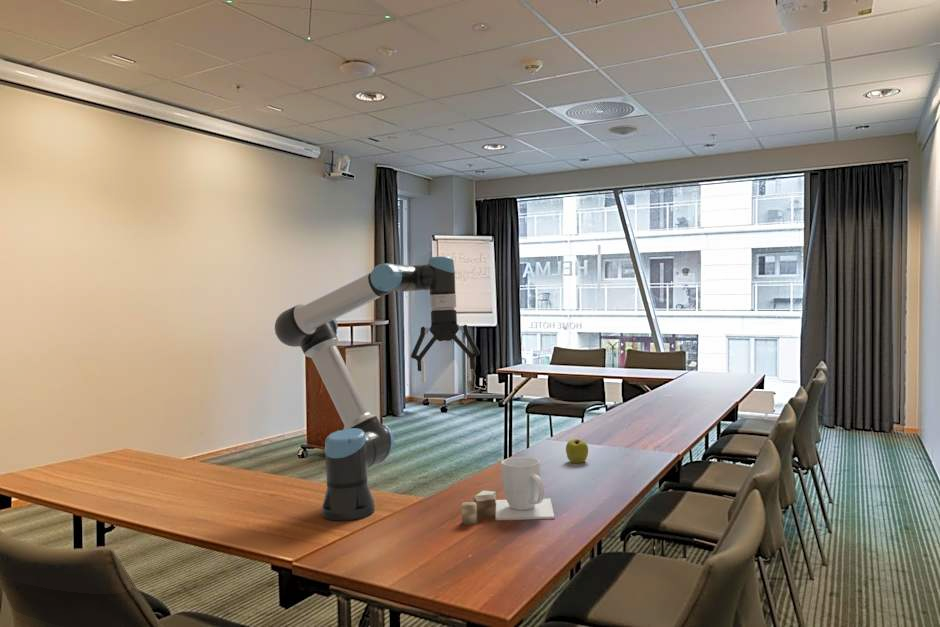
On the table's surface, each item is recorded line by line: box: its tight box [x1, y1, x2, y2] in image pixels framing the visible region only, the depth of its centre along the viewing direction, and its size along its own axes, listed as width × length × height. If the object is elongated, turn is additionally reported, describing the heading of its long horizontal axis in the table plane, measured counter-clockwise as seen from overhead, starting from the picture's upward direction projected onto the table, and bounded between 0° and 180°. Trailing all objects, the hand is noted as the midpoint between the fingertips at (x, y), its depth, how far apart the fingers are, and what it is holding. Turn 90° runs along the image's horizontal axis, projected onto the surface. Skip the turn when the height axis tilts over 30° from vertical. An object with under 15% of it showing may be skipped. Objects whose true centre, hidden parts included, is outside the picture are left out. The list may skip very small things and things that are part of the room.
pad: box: [495, 497, 555, 521], centre depth 184 cm, size 16×16×1 cm
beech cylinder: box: [461, 501, 478, 526], centre depth 175 cm, size 4×4×5 cm
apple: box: [565, 436, 589, 464], centre depth 234 cm, size 8×8×10 cm
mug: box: [501, 456, 545, 510], centre depth 183 cm, size 15×11×13 cm
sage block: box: [475, 490, 497, 506], centre depth 188 cm, size 4×6×4 cm, turn 155°
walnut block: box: [473, 494, 496, 520], centre depth 181 cm, size 5×5×5 cm
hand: (446, 381), depth 190 cm, fingers open, 13 cm apart
